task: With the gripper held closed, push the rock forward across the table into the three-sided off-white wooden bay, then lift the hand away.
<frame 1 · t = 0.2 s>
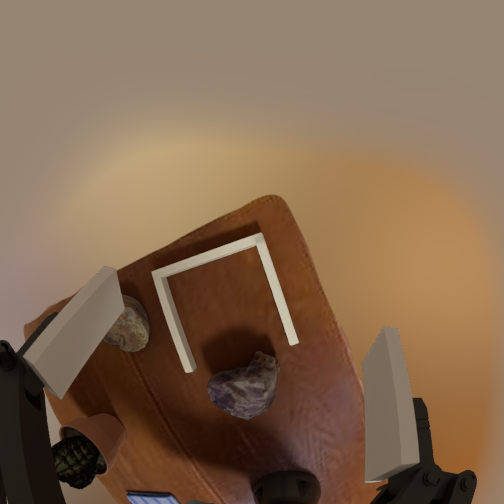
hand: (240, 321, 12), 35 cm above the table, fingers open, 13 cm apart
bay: (225, 309, 48), on the table
rock: (250, 379, 47), on the table
oyster shell: (123, 323, 50), on the table
potted plant: (112, 427, 49), on the table
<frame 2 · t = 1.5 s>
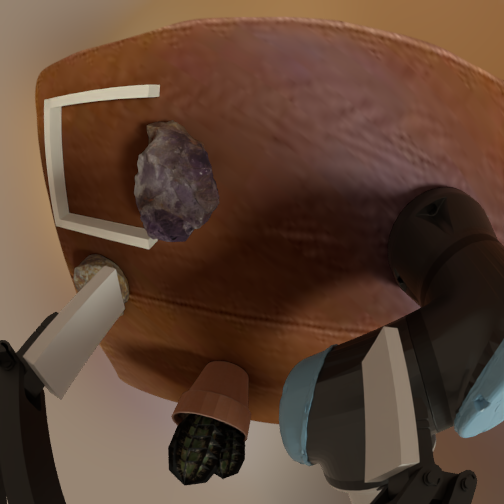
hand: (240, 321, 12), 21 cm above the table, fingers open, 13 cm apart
bay: (102, 163, 32), on the table
rock: (192, 171, 31), on the table
oyster shell: (109, 284, 45), on the table
potted plant: (227, 372, 50), on the table
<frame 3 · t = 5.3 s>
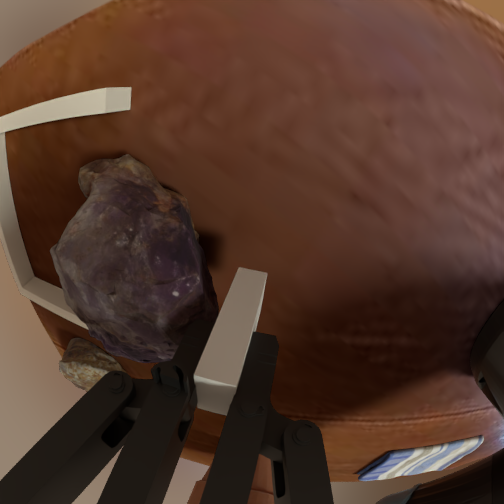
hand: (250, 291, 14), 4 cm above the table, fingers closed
bay: (59, 219, 20), on the table
dish towel: (421, 455, 34), on the table
rock: (173, 239, 19), on the table, touching gripper
oyster shell: (104, 368, 33), on the table
potted plant: (248, 449, 37), on the table
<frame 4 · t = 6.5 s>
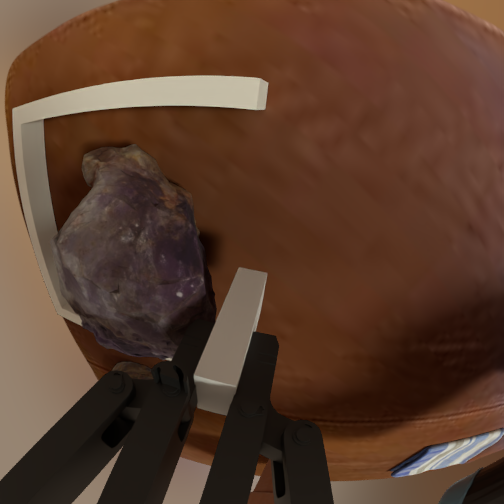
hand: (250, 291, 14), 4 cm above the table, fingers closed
bay: (128, 231, 19), on the table
dish towel: (449, 449, 33), on the table
rock: (172, 234, 18), on the table, touching gripper
oyster shell: (154, 389, 32), on the table
potted plant: (296, 456, 36), on the table
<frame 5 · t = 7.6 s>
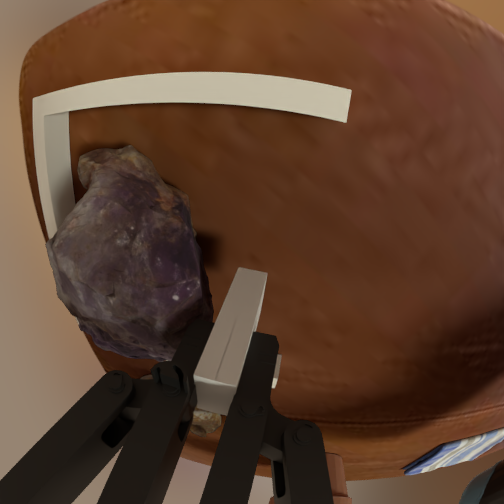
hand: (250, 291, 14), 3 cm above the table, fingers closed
bay: (172, 240, 18), on the table
dish towel: (460, 447, 33), on the table
rock: (169, 235, 18), on the table, touching gripper
oyster shell: (180, 400, 31), on the table
potted plant: (316, 458, 36), on the table
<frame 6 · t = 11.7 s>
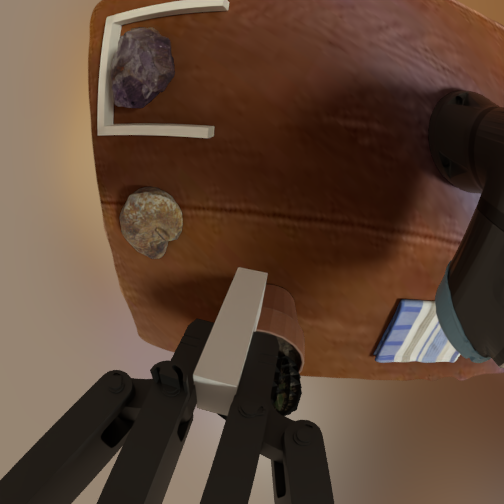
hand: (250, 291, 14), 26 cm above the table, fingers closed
bay: (162, 67, 31), on the table
dish towel: (431, 330, 46), on the table
rock: (160, 66, 32), on the table
oyster shell: (155, 222, 46), on the table
potted plant: (270, 302, 49), on the table
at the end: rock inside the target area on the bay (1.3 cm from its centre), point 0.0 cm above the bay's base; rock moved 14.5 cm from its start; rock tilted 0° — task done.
